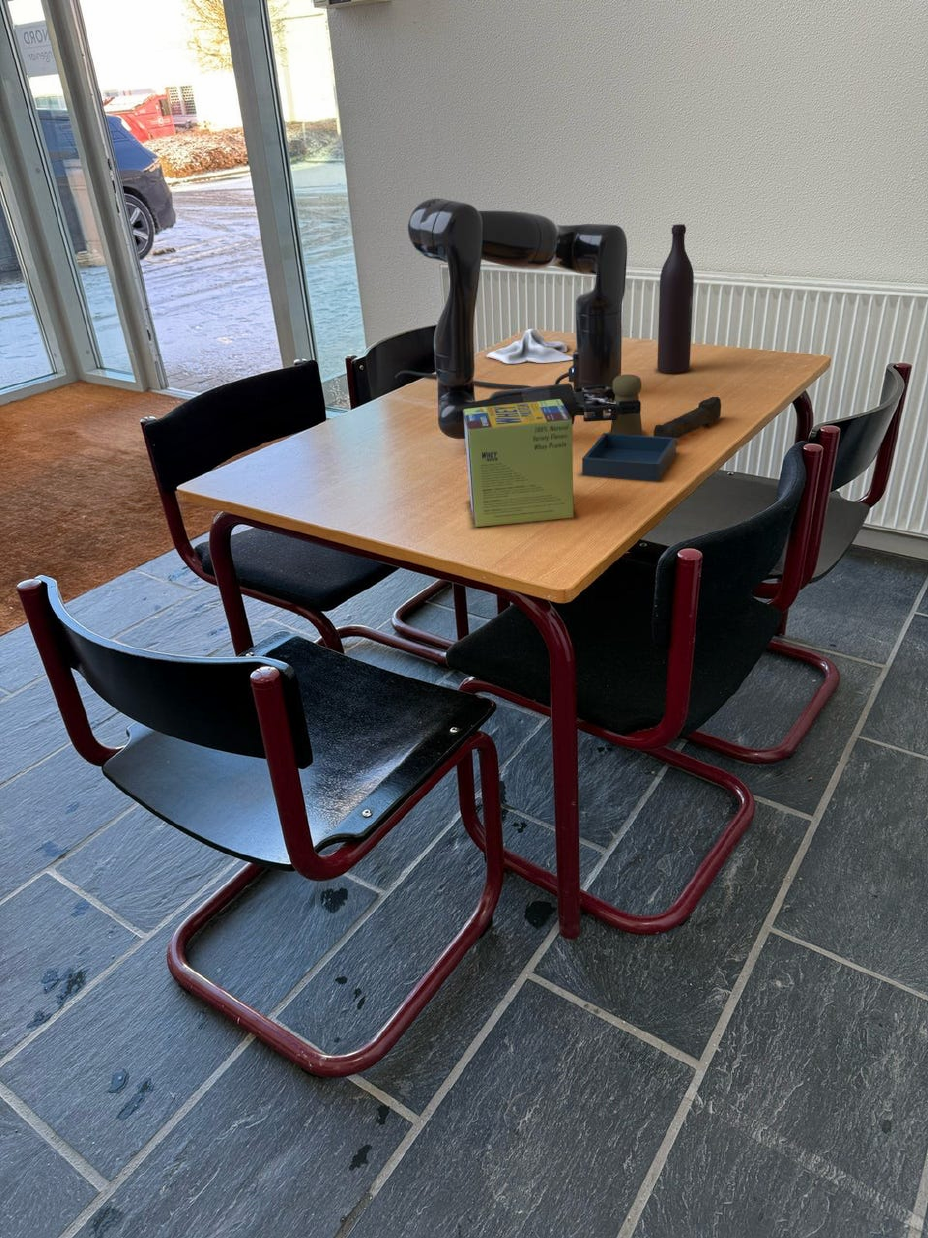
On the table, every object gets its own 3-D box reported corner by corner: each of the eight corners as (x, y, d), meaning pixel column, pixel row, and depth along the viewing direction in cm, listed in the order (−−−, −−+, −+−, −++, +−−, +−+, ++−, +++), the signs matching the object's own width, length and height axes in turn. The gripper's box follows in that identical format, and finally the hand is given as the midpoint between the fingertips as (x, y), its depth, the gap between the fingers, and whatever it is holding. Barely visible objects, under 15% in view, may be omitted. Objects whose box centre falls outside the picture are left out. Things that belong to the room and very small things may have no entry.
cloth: (479, 363, 220) (477, 337, 217) (506, 344, 235) (505, 319, 232) (566, 366, 212) (566, 339, 209) (589, 346, 226) (589, 321, 223)
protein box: (575, 518, 138) (573, 418, 130) (474, 528, 137) (466, 429, 129) (563, 492, 147) (561, 397, 139) (468, 501, 146) (461, 407, 138)
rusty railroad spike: (670, 449, 160) (671, 423, 158) (651, 444, 163) (652, 419, 160) (732, 421, 171) (734, 396, 168) (714, 417, 173) (716, 393, 171)
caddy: (582, 475, 152) (582, 458, 151) (603, 449, 163) (603, 432, 161) (658, 481, 148) (659, 464, 146) (675, 454, 158) (676, 437, 156)
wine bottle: (692, 373, 199) (699, 225, 184) (660, 375, 200) (664, 228, 185) (686, 364, 205) (692, 221, 190) (654, 366, 206) (658, 224, 191)
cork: (635, 442, 164) (636, 381, 159) (604, 438, 167) (604, 379, 162) (647, 431, 169) (649, 372, 163) (617, 428, 172) (618, 370, 166)
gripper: (550, 397, 157) (644, 389, 157) (542, 375, 169) (629, 368, 169) (551, 439, 161) (643, 431, 160) (543, 414, 173) (628, 407, 173)
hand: (636, 399), depth 165 cm, fingers open, 8 cm apart
